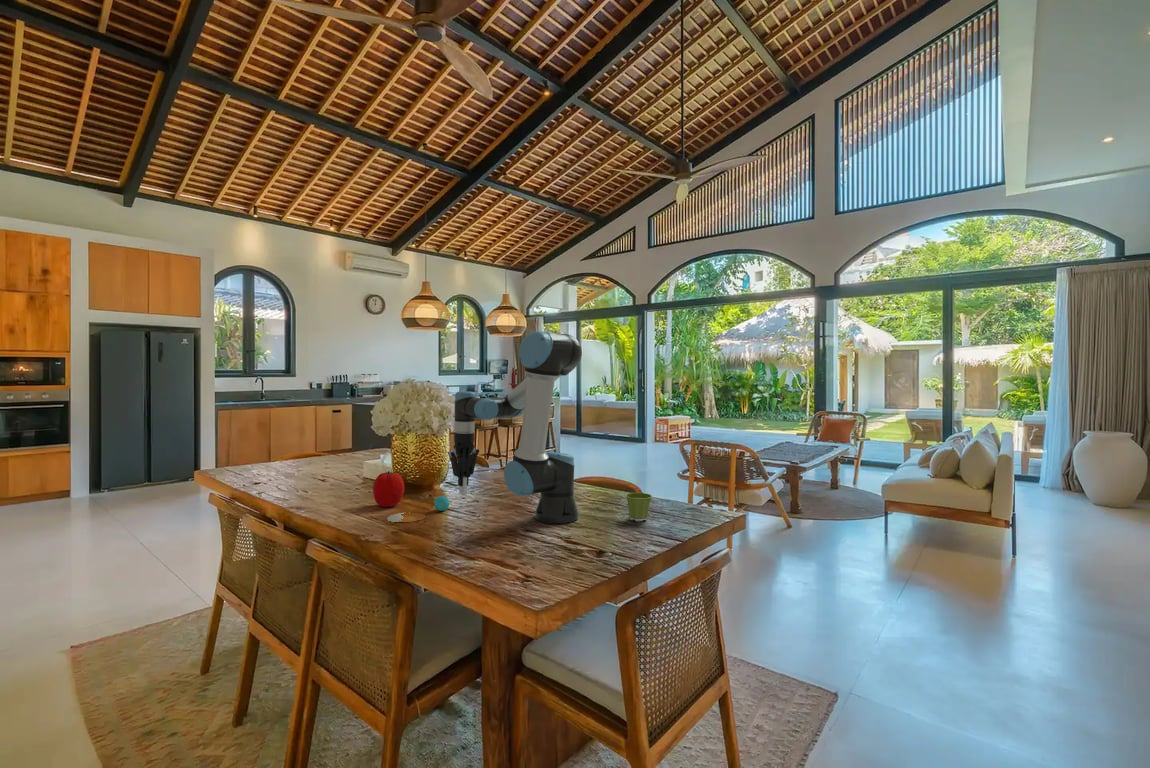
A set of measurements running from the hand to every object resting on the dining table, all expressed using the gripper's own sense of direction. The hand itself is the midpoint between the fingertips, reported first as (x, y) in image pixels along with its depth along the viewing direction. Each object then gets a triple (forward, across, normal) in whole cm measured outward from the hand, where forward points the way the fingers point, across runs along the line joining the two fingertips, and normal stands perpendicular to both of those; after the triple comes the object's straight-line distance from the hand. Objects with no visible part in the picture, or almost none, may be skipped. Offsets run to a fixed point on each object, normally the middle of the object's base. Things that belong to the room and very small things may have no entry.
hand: (463, 494), depth 202 cm
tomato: (+5, +20, -19) cm, 28 cm away
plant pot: (+4, -33, +58) cm, 67 cm away
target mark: (+5, +24, 0) cm, 24 cm away
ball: (+2, +10, 0) cm, 10 cm away
